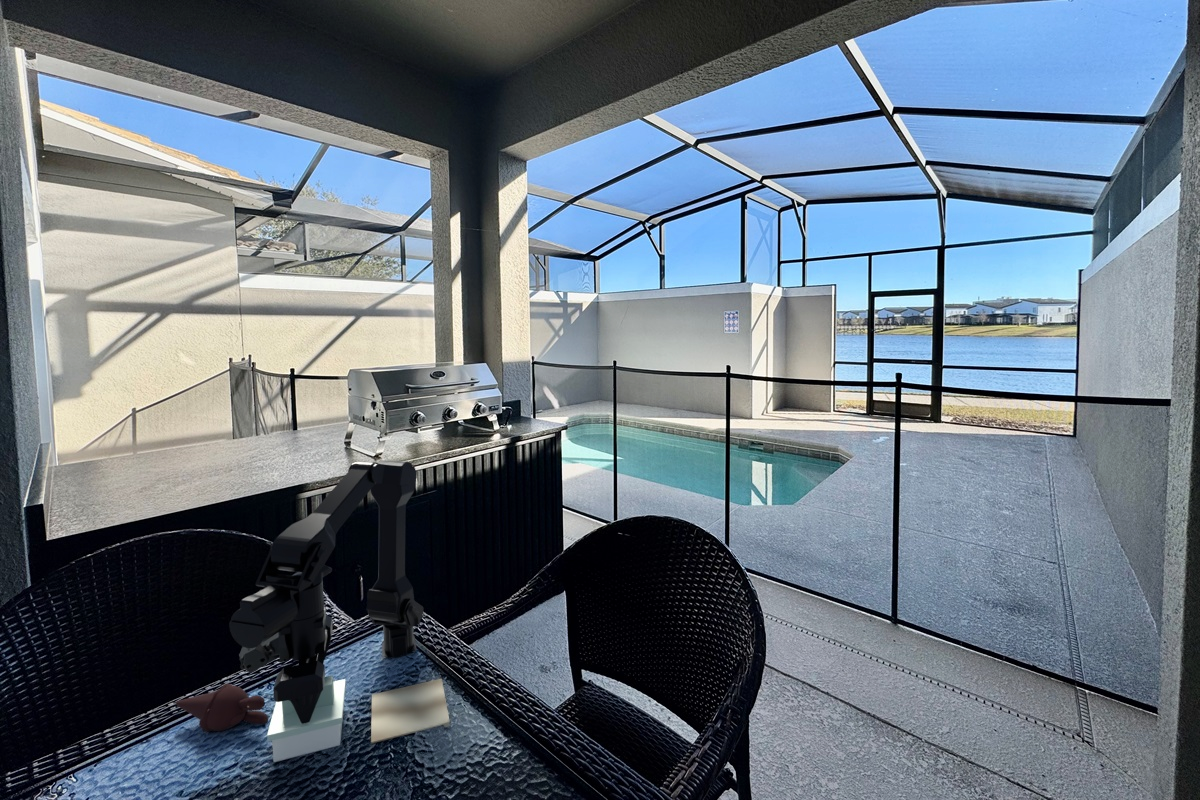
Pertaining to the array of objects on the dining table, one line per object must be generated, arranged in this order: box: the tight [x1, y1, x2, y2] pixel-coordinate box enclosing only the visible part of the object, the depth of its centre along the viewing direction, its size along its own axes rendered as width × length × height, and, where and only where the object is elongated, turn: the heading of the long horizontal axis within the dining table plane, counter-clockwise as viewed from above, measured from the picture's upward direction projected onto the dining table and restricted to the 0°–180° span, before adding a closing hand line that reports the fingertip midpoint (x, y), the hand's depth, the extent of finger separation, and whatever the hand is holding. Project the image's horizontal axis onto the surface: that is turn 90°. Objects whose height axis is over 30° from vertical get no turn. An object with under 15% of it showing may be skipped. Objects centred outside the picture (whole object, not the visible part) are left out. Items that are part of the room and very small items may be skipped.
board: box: [370, 678, 451, 745], centre depth 91 cm, size 12×12×1 cm
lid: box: [266, 675, 347, 742], centre depth 85 cm, size 10×10×5 cm
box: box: [271, 723, 343, 763], centre depth 85 cm, size 9×9×4 cm
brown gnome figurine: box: [175, 683, 269, 733], centre depth 87 cm, size 7×7×15 cm
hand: (309, 703), depth 85 cm, fingers open, 9 cm apart
